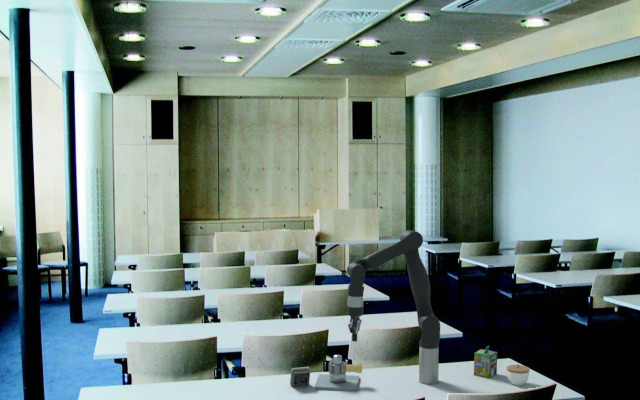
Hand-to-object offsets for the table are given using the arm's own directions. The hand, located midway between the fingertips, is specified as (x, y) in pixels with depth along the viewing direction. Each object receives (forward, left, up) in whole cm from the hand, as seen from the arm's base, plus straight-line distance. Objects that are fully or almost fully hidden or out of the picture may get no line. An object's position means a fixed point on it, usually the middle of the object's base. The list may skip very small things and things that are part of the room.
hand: (354, 341), depth 341 cm
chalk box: (-65, -28, -22) cm, 74 cm away
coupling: (+5, -4, -16) cm, 17 cm away
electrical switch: (+25, +2, -22) cm, 34 cm away
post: (+8, -4, -21) cm, 23 cm away
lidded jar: (-79, -15, -22) cm, 83 cm away
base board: (+8, -4, -22) cm, 24 cm away
